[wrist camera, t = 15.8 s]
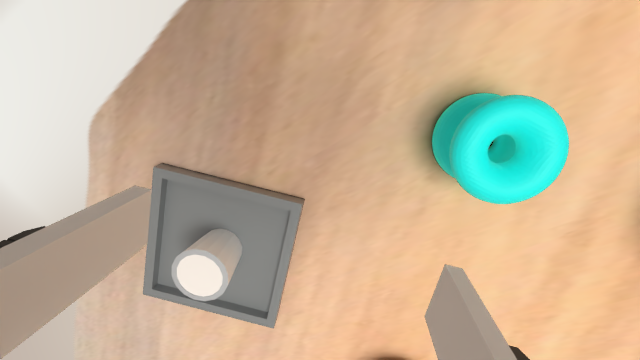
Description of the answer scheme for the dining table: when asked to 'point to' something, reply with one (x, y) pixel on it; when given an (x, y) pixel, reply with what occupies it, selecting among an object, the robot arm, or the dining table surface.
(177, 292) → the tray
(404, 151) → the dining table surface
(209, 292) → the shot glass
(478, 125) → the donuts
